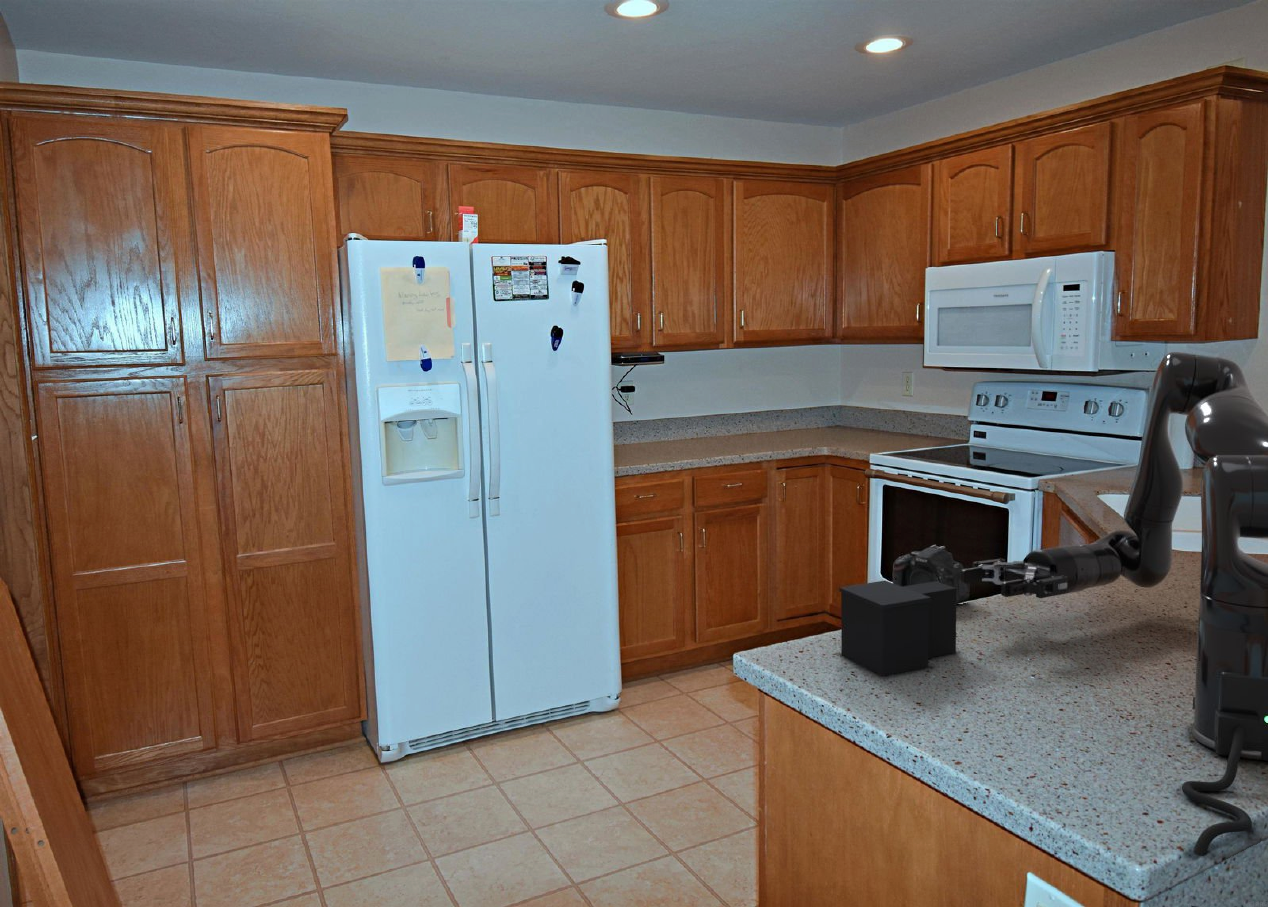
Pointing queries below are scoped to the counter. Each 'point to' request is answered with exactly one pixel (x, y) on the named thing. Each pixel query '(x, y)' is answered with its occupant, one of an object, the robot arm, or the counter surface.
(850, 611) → the black lidded box
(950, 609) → the upright black block
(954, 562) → the camera
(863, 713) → the counter surface
